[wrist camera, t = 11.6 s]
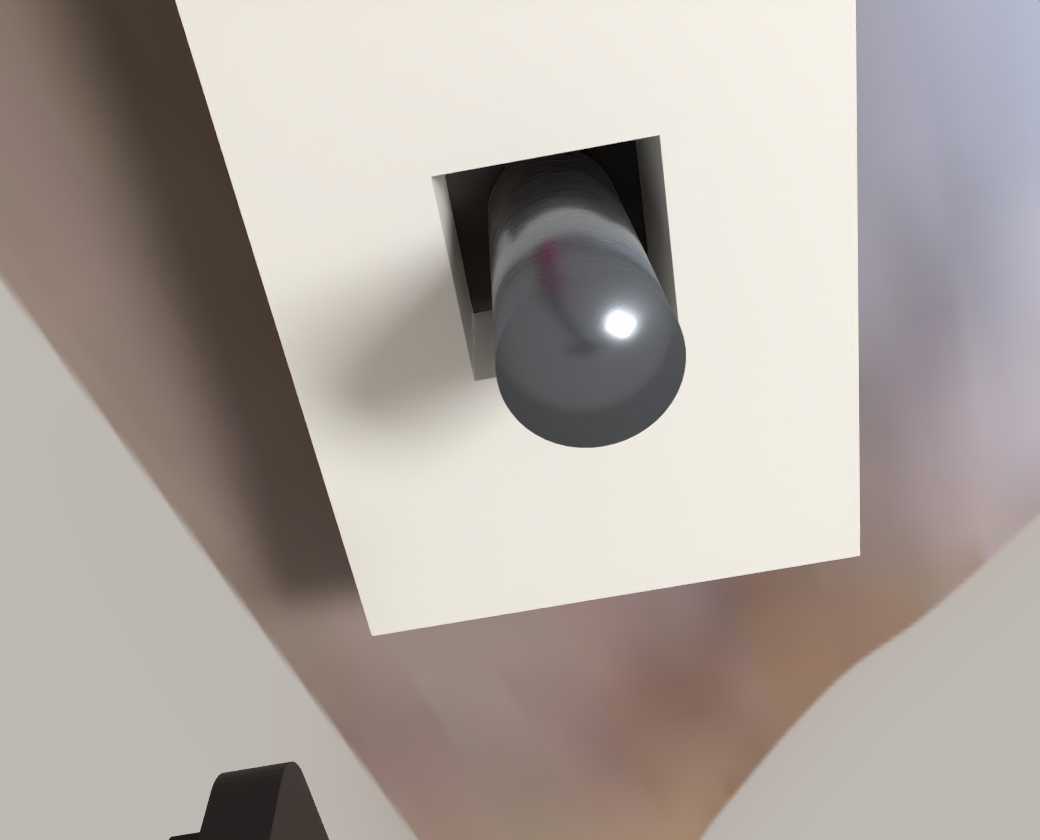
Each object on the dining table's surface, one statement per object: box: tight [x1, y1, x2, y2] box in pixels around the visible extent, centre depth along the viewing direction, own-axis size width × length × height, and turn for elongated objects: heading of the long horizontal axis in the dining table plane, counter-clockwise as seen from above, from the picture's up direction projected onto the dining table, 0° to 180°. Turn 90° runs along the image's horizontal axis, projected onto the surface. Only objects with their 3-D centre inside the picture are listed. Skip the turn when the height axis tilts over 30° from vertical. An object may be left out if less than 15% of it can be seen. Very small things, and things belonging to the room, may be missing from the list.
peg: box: [488, 150, 686, 448], centre depth 23 cm, size 4×4×10 cm
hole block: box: [175, 0, 860, 636], centre depth 26 cm, size 20×14×4 cm
